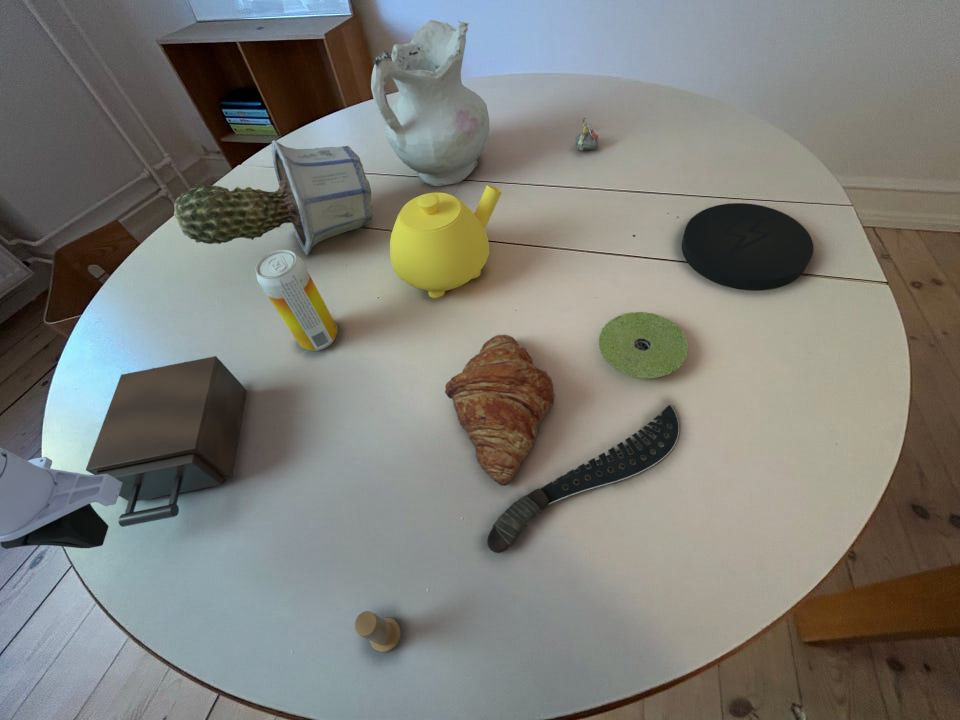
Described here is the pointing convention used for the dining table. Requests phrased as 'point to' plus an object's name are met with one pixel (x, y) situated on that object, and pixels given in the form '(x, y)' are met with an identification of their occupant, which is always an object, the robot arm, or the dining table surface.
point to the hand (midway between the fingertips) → (99, 536)
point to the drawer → (161, 484)
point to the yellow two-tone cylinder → (296, 299)
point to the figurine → (586, 138)
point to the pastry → (501, 404)
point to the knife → (539, 499)
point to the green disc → (643, 345)
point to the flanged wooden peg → (378, 630)
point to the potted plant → (284, 200)
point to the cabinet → (172, 417)
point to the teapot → (441, 241)
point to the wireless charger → (747, 246)
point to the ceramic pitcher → (432, 105)
